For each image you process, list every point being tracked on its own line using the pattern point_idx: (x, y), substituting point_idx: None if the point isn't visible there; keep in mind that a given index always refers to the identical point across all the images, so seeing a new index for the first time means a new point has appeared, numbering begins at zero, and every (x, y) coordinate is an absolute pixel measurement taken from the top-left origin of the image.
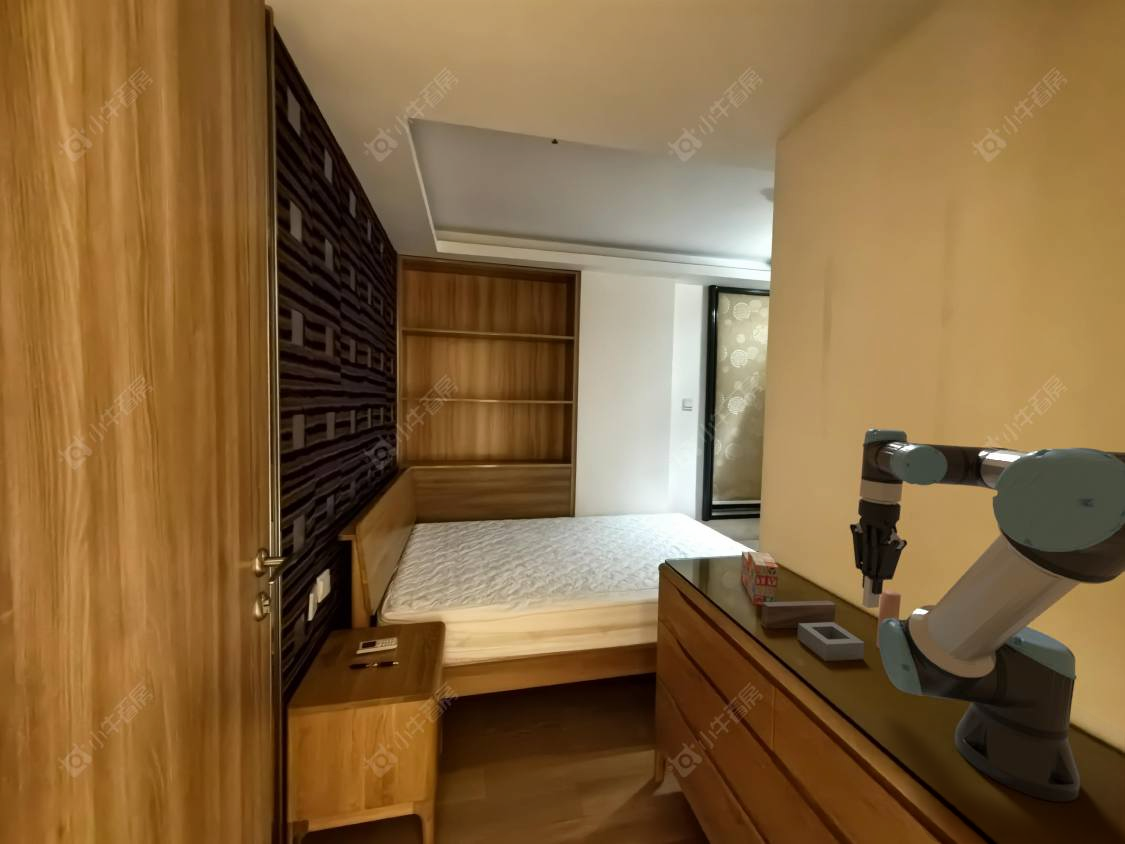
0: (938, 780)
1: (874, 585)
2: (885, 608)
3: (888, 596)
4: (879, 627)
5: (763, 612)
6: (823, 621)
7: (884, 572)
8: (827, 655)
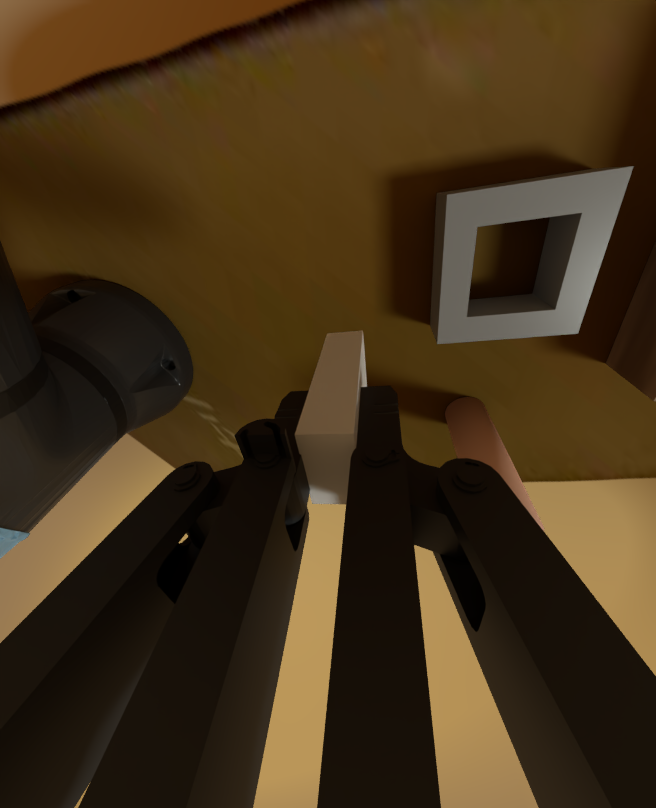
0: (6, 166)
1: (291, 423)
2: None
3: None
4: (485, 429)
5: None
6: (630, 335)
7: (115, 529)
8: (439, 201)
